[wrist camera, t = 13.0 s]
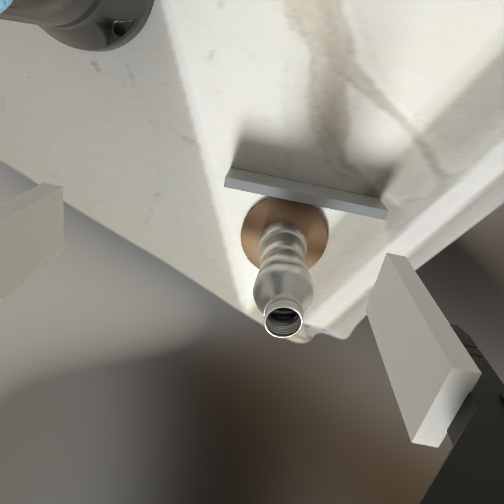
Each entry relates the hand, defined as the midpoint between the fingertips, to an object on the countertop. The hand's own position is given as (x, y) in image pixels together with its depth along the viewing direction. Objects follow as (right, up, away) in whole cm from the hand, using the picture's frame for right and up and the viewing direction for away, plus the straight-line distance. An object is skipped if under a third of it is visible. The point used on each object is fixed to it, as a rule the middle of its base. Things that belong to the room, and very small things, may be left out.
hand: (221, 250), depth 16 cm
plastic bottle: (+5, +2, +39) cm, 39 cm away
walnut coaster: (+6, +2, +39) cm, 40 cm away
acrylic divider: (+8, +8, +36) cm, 38 cm away
